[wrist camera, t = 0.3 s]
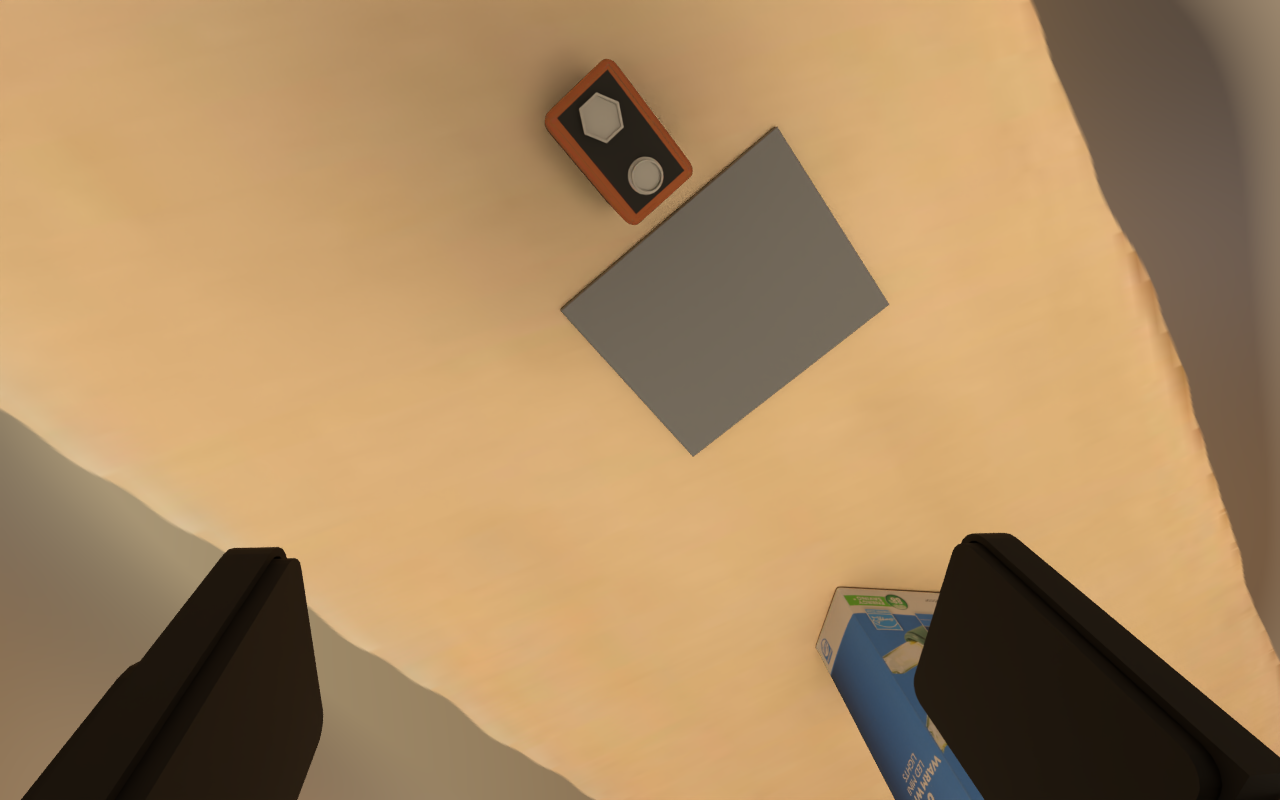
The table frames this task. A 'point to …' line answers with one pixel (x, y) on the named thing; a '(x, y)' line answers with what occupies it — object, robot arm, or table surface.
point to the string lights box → (891, 689)
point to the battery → (618, 142)
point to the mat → (729, 296)
